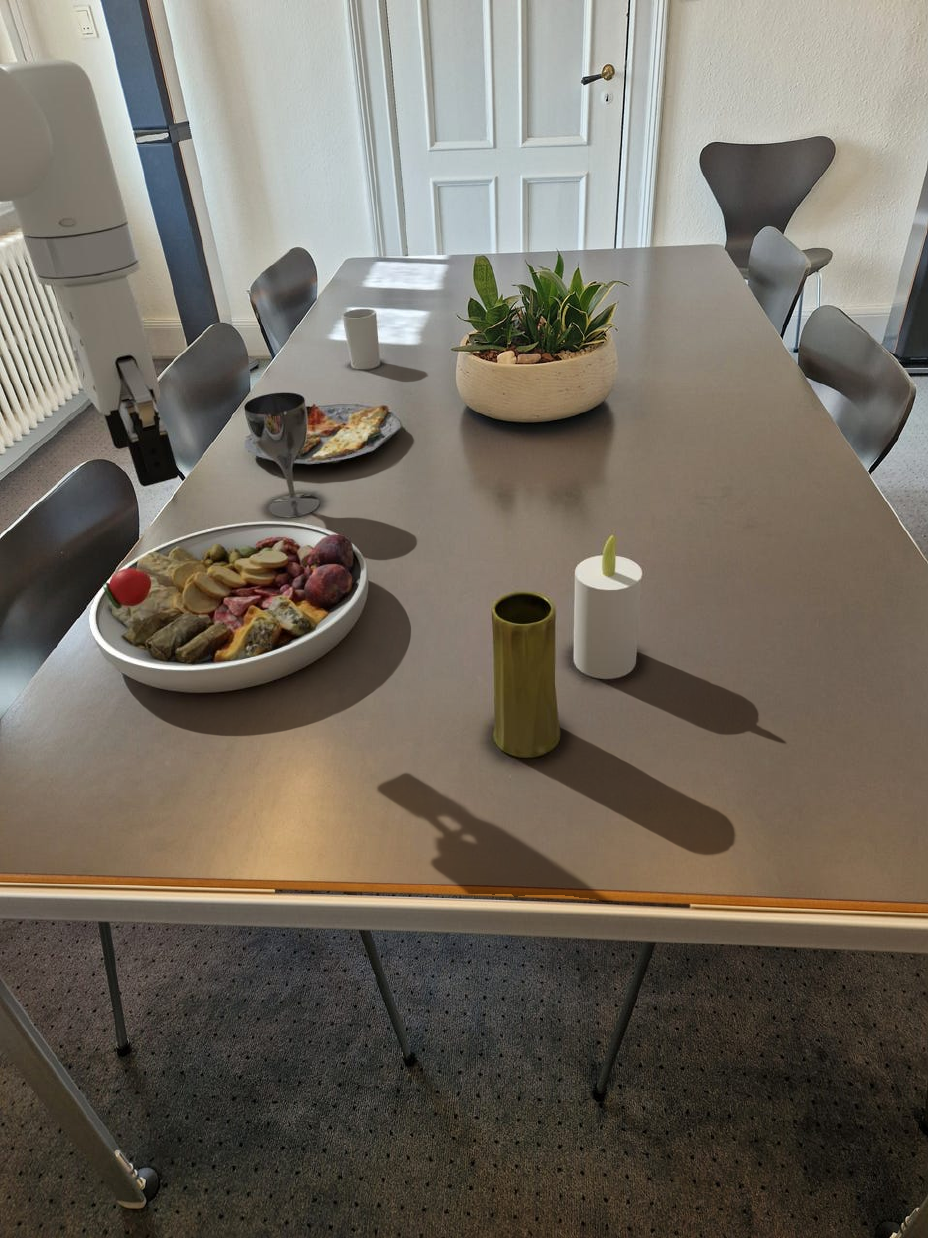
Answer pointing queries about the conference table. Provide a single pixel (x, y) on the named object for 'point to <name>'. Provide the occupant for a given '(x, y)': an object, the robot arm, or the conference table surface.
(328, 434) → the food plate
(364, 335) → the white cup
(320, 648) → the bowl
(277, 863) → the conference table surface
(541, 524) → the conference table surface
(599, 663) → the candle
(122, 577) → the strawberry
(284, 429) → the wine glass
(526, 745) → the vase
